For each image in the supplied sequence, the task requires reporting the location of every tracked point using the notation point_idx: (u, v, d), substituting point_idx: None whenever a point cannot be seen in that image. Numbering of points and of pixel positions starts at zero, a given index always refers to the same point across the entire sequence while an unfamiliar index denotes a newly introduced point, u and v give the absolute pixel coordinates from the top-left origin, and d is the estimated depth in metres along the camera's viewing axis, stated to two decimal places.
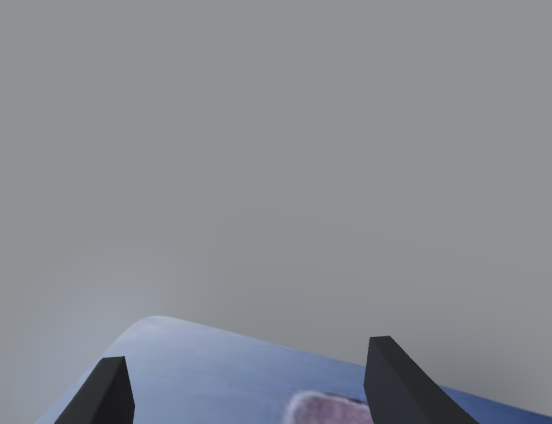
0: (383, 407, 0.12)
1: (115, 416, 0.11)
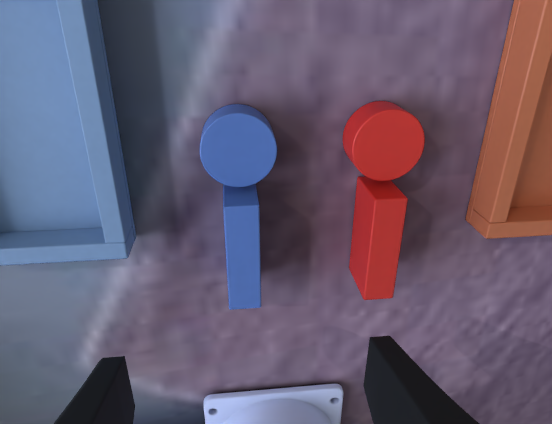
0: (382, 407, 0.12)
1: (116, 416, 0.11)
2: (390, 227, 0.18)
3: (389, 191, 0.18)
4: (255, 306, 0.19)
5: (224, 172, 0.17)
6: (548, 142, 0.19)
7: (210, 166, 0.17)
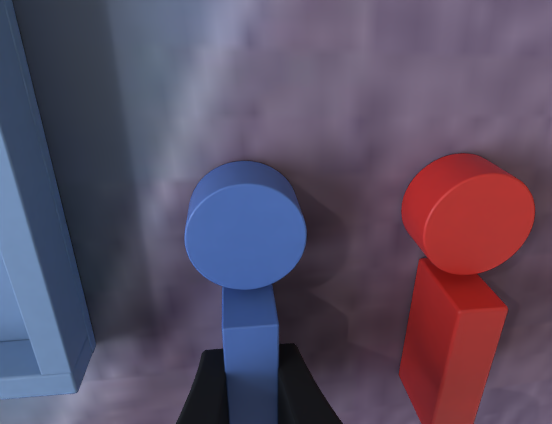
0: (280, 417, 0.12)
1: (226, 406, 0.11)
2: (478, 347, 0.12)
3: (475, 291, 0.12)
4: None
5: (224, 270, 0.11)
6: None
7: (201, 262, 0.11)
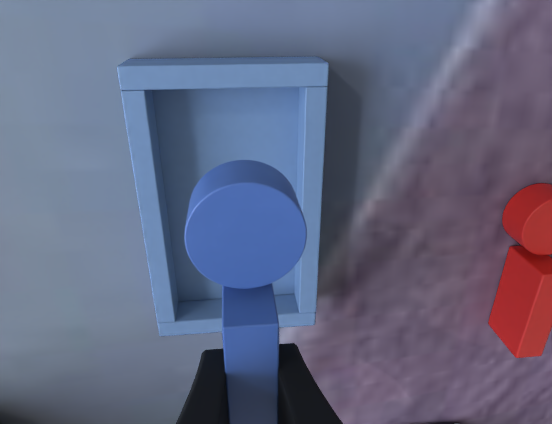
0: (280, 417, 0.12)
1: (226, 406, 0.11)
2: (551, 297, 0.20)
3: (550, 264, 0.20)
4: None
5: (224, 269, 0.11)
6: None
7: (201, 261, 0.11)
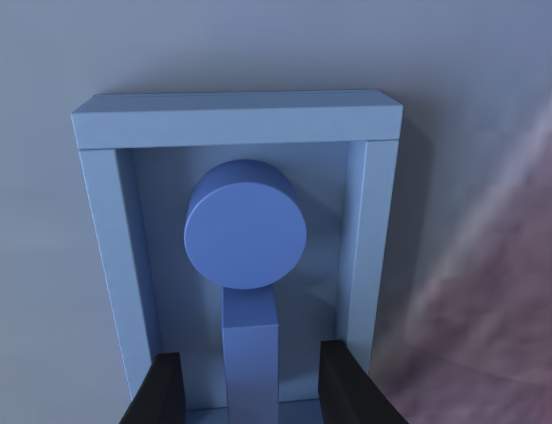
0: (330, 412, 0.12)
1: (175, 411, 0.11)
2: None
3: None
4: None
5: (223, 269, 0.11)
6: None
7: (201, 261, 0.11)
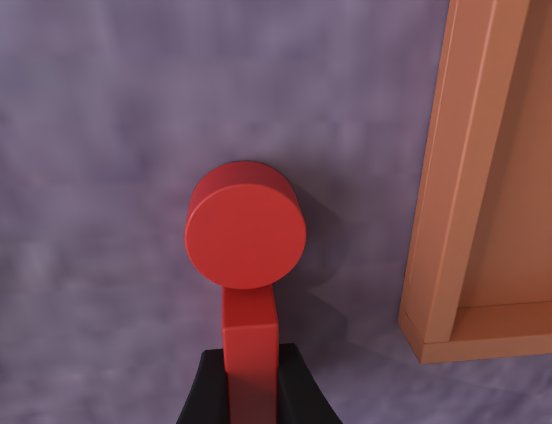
0: (280, 417, 0.12)
1: (226, 406, 0.11)
2: (255, 365, 0.11)
3: (255, 306, 0.11)
4: None
5: None
6: (514, 218, 0.13)
7: None
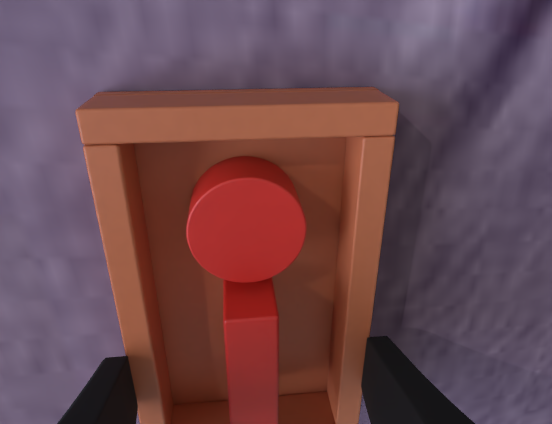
0: (379, 408, 0.12)
1: (119, 416, 0.11)
2: (256, 358, 0.11)
3: (256, 299, 0.11)
4: None
5: None
6: None
7: None
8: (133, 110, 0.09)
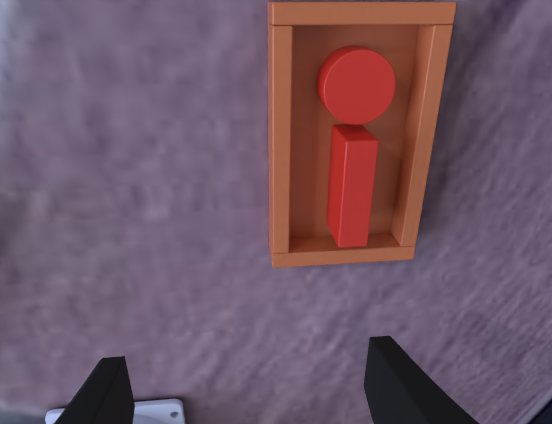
0: (382, 407, 0.12)
1: (116, 416, 0.11)
2: (362, 170, 0.18)
3: (361, 135, 0.18)
4: None
5: None
6: None
7: None
8: (305, 3, 0.16)
